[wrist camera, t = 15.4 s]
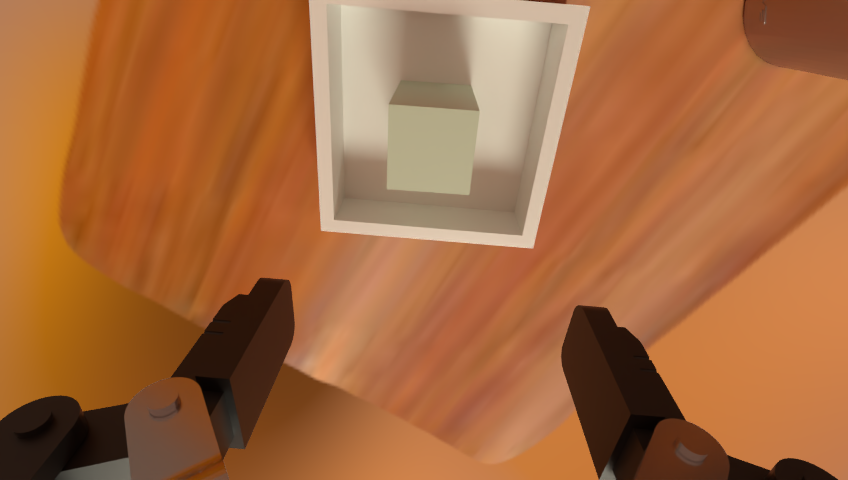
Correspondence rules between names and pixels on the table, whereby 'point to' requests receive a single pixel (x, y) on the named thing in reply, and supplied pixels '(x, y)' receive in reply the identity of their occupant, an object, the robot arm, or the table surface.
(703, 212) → the table surface
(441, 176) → the cream block
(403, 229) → the serving bin
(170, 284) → the table surface
